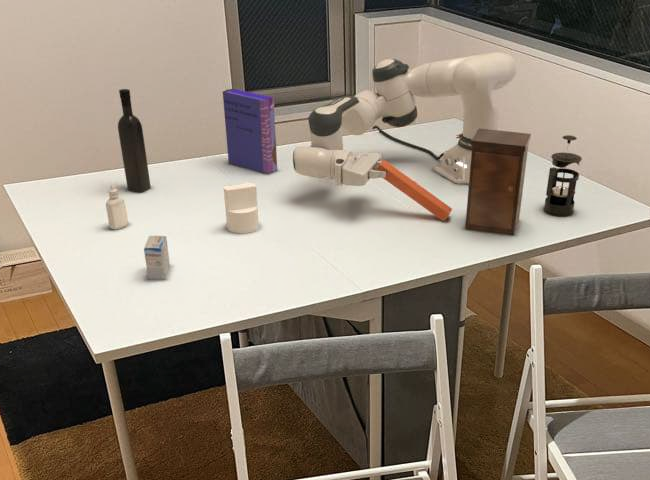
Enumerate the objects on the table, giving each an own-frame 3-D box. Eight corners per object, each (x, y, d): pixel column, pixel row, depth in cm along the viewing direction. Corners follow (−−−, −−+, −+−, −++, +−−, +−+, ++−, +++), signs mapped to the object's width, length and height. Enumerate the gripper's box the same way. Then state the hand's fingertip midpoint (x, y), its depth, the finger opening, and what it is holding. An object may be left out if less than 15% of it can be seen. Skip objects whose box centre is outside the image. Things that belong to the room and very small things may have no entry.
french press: (581, 215, 252) (593, 140, 239) (555, 219, 249) (567, 143, 236) (559, 202, 261) (570, 128, 248) (534, 205, 258) (544, 131, 245)
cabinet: (463, 230, 240) (470, 141, 225) (471, 214, 250) (478, 128, 235) (514, 237, 237) (525, 147, 222) (520, 220, 247) (530, 133, 232)
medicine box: (153, 266, 214) (148, 235, 209) (170, 266, 214) (166, 235, 209) (148, 280, 207) (143, 248, 202) (166, 279, 208) (161, 248, 203)
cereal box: (277, 170, 277) (273, 97, 263) (268, 174, 273) (263, 100, 260) (238, 160, 284) (232, 88, 270) (228, 163, 281) (222, 90, 267)
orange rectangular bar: (374, 172, 242) (379, 164, 240) (378, 167, 245) (384, 159, 243) (443, 221, 245) (449, 214, 243) (447, 216, 248) (452, 208, 247)
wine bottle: (126, 190, 257) (110, 91, 240) (137, 184, 262) (122, 86, 245) (141, 193, 256) (126, 93, 239) (152, 187, 260) (138, 89, 243)
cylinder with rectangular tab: (232, 235, 232) (229, 194, 225) (223, 223, 238) (219, 183, 231) (263, 230, 235) (260, 189, 228) (252, 219, 242) (249, 179, 235)
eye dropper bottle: (131, 227, 234) (124, 186, 227) (111, 230, 231) (104, 189, 225) (126, 221, 237) (119, 181, 230) (107, 225, 234) (99, 184, 228)
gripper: (354, 165, 255) (397, 170, 253) (333, 187, 239) (379, 193, 236) (354, 145, 252) (398, 150, 249) (333, 166, 235) (380, 171, 233)
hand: (388, 171), depth 243 cm, fingers closed on orange rectangular bar, 4 cm apart
